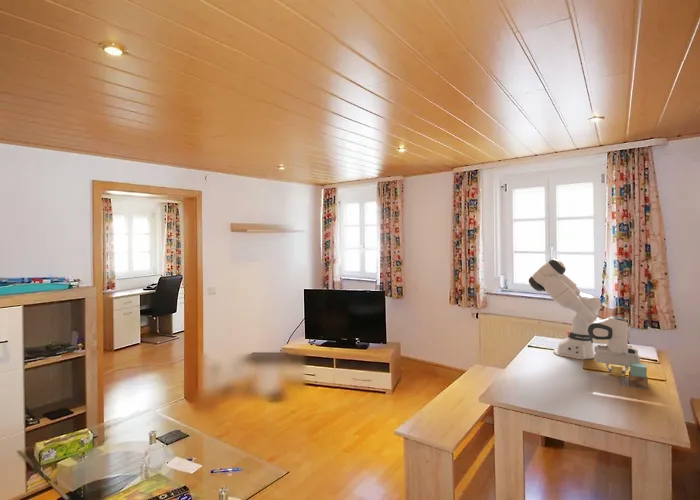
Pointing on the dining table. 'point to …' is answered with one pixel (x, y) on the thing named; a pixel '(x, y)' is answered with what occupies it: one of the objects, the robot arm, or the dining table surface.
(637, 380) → the block base
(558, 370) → the dining table surface
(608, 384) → the dining table surface
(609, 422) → the dining table surface
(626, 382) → the slate board
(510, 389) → the dining table surface
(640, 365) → the block top
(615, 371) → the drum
